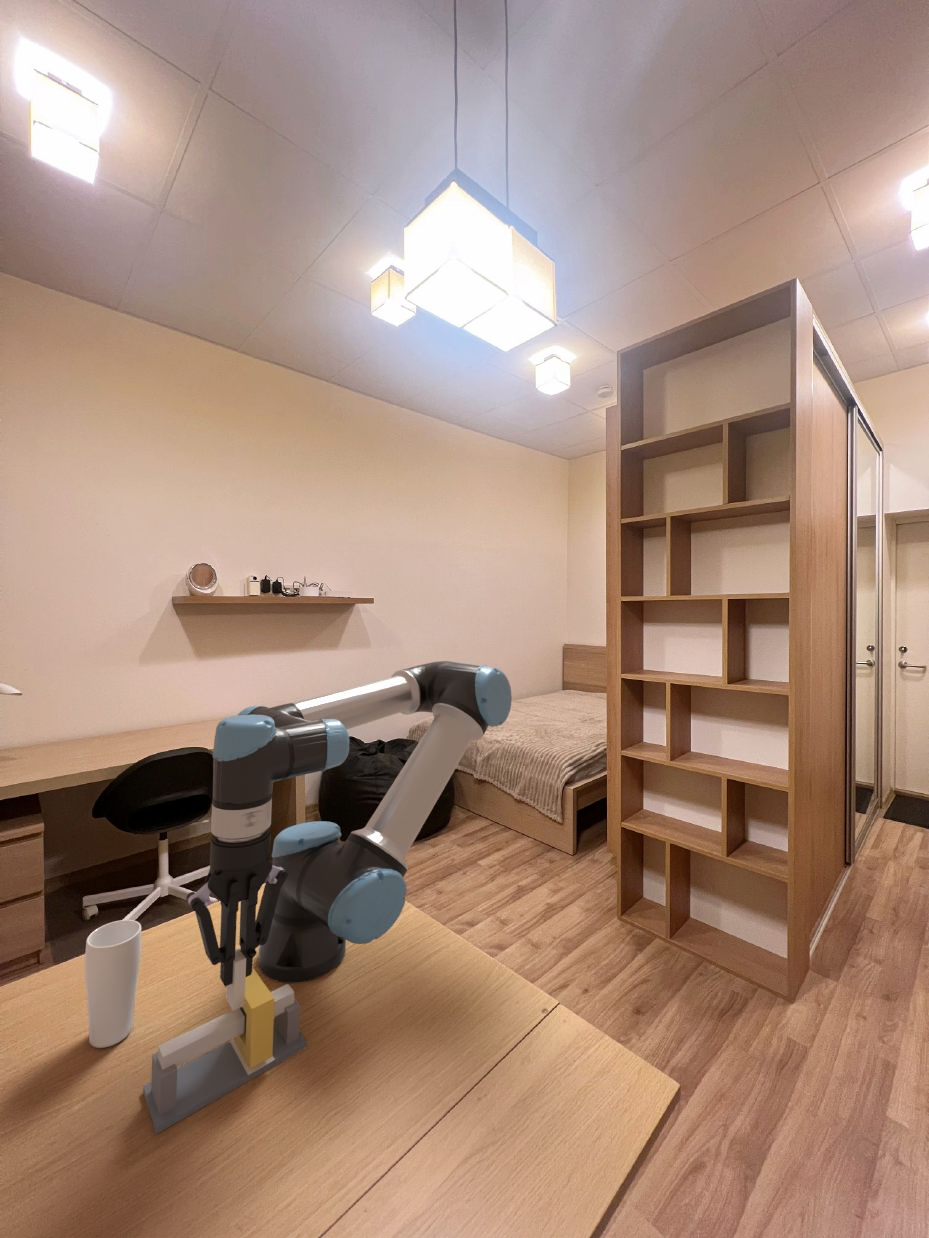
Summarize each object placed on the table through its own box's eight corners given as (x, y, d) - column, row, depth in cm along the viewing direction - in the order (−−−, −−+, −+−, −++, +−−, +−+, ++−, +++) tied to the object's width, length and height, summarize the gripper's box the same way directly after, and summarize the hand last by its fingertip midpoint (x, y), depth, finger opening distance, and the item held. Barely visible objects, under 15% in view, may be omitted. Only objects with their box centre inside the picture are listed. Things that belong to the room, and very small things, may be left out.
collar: (229, 1030, 74) (231, 975, 74) (250, 1020, 76) (252, 966, 76) (249, 1068, 68) (252, 1008, 68) (272, 1055, 70) (274, 997, 70)
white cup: (149, 1027, 76) (152, 927, 76) (100, 1062, 70) (104, 953, 70) (120, 1010, 79) (123, 914, 79) (71, 1043, 73) (74, 938, 73)
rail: (143, 1092, 66) (145, 1036, 66) (285, 1017, 79) (287, 970, 79) (156, 1134, 61) (158, 1073, 61) (306, 1046, 74) (308, 997, 74)
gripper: (197, 855, 63) (191, 1045, 63) (299, 828, 72) (292, 995, 72) (180, 834, 68) (174, 1009, 69) (276, 811, 77) (271, 966, 78)
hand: (235, 1002), depth 70 cm, fingers closed
